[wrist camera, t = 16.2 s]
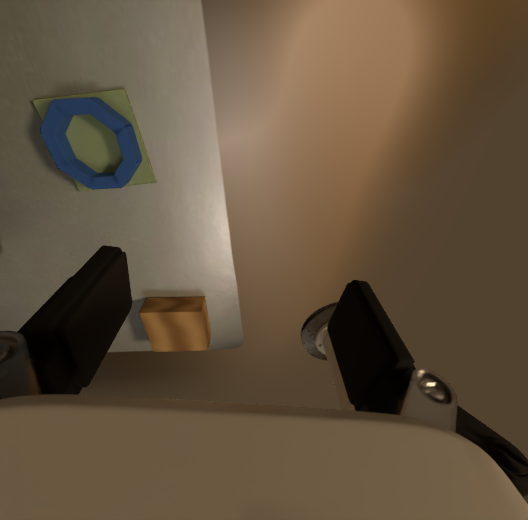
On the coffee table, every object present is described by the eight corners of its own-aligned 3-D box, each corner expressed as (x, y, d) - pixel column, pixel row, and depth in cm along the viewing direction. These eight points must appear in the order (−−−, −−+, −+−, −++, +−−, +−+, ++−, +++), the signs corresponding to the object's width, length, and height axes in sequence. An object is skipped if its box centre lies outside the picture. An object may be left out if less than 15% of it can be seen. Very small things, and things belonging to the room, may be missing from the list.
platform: (204, 296, 48) (201, 311, 45) (211, 334, 55) (208, 350, 51) (146, 297, 48) (138, 312, 45) (159, 335, 54) (153, 351, 51)
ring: (154, 141, 33) (149, 144, 31) (118, 198, 37) (112, 203, 35) (72, 75, 29) (61, 74, 27) (42, 147, 33) (31, 150, 31)
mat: (156, 181, 36) (155, 182, 36) (81, 190, 36) (79, 191, 36) (124, 88, 30) (123, 88, 29) (34, 99, 30) (31, 100, 30)
